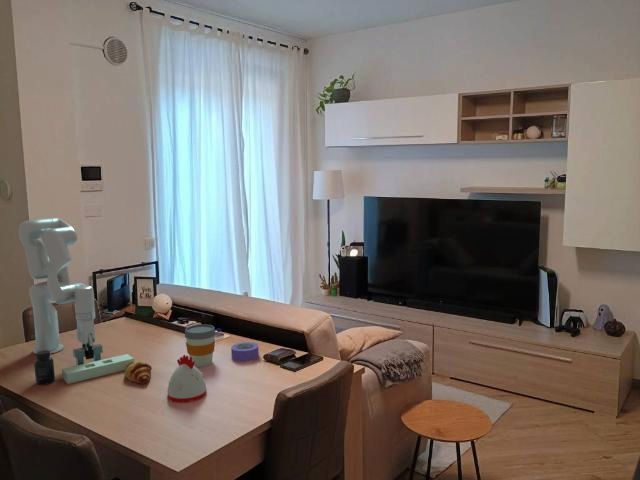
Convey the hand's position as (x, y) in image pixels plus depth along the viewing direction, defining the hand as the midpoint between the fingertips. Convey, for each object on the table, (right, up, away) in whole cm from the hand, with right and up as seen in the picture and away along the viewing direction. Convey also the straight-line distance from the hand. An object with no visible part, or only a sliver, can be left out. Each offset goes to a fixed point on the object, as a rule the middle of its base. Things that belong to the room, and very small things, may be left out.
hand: (88, 357), depth 233 cm
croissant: (+26, -5, -15) cm, 31 cm away
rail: (+9, -4, -10) cm, 14 cm away
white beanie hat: (+50, -7, -32) cm, 59 cm away
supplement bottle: (-9, -6, -19) cm, 22 cm away
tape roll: (+66, -2, +7) cm, 66 cm away
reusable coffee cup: (+48, -3, 0) cm, 48 cm away
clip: (0, -3, 0) cm, 3 cm away
